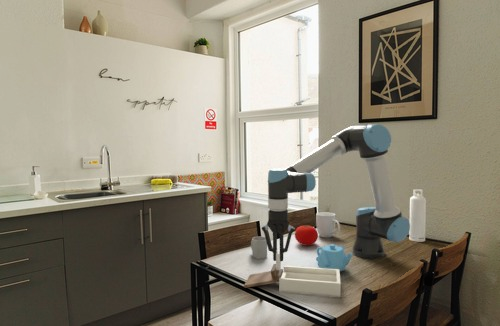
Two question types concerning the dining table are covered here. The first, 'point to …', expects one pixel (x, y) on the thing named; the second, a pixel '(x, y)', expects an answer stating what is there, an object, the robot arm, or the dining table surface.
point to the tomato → (306, 235)
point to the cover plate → (264, 277)
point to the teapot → (333, 257)
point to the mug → (326, 224)
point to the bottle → (417, 216)
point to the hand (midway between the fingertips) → (278, 268)
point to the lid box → (310, 281)
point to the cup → (259, 247)
